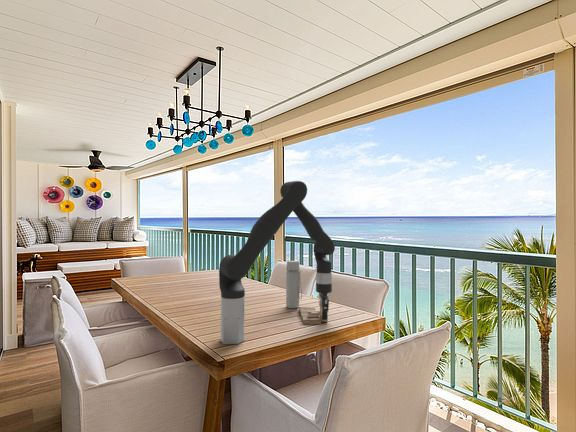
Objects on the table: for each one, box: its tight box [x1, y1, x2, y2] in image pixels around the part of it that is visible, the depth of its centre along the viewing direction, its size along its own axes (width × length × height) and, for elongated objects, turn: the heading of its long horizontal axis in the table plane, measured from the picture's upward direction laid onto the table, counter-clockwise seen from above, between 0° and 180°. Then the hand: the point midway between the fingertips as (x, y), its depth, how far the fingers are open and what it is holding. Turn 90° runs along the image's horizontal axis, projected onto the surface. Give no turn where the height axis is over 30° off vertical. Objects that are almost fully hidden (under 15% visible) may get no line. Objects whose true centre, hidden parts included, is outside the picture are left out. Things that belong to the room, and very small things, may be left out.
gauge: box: [308, 305, 329, 323], centre depth 154 cm, size 5×9×6 cm, turn 93°
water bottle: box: [285, 260, 303, 309], centre depth 178 cm, size 9×8×25 cm
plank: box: [298, 306, 322, 325], centre depth 160 cm, size 22×8×2 cm, turn 3°
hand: (323, 317), depth 154 cm, fingers closed on gauge, 5 cm apart
